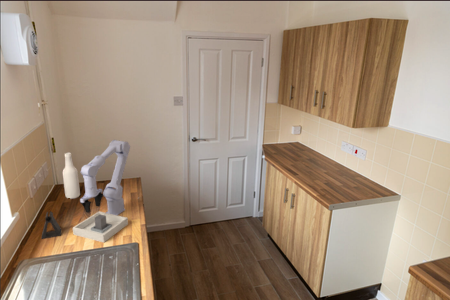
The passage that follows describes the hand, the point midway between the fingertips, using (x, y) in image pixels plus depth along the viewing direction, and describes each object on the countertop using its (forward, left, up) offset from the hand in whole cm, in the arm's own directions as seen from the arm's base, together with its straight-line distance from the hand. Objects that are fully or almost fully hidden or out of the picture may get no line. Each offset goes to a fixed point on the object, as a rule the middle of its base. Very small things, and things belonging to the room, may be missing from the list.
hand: (93, 209), depth 169 cm
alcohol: (-23, -39, -10) cm, 47 cm away
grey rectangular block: (+3, +7, -9) cm, 12 cm away
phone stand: (+17, -13, -10) cm, 23 cm away
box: (+3, +7, -9) cm, 12 cm away
